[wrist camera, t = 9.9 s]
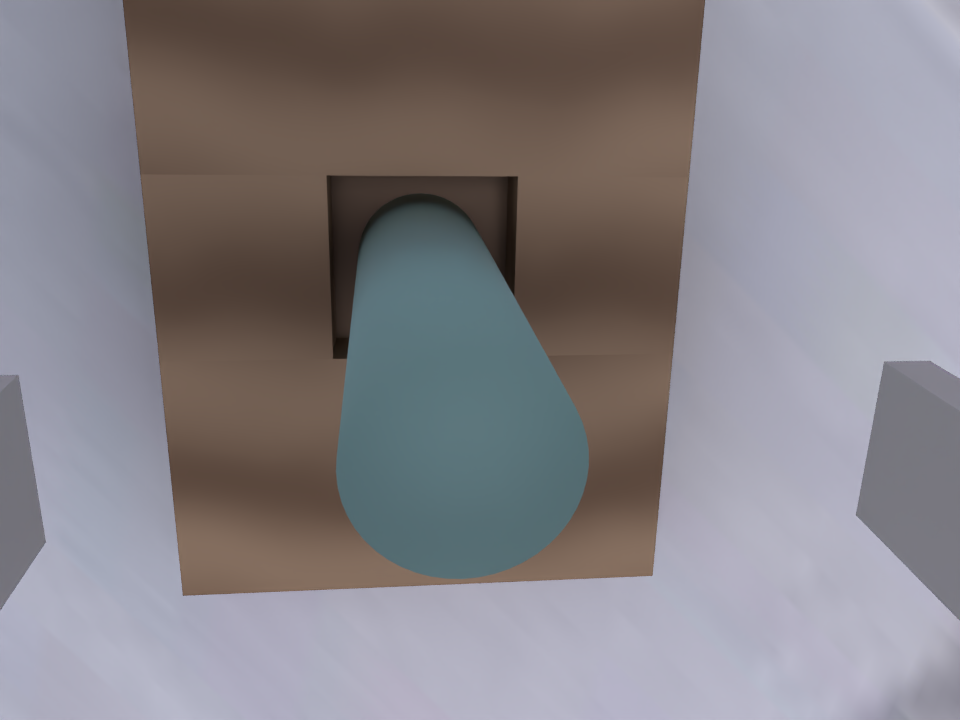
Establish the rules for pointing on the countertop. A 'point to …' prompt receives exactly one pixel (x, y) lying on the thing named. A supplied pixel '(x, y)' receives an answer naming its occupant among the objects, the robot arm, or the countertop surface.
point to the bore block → (342, 219)
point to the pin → (450, 404)
